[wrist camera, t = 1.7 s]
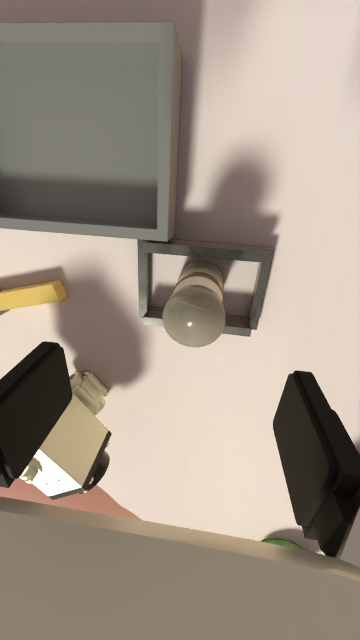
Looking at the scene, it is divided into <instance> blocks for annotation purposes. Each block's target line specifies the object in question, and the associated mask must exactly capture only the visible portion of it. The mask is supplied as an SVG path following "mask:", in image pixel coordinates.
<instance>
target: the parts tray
mask: <svg viewBox="0 0 360 640" xmlns="http://www.w3.org/2000/svg"><path fill="white" fill-rule="evenodd" d="M181 75H182V51H181V47H180V43H179V40H178V36H177V32H176V28H175V24H174V22H70V23H0V228H5V229H18V230H30V231H42V232H55V233H67V234H80V235H92V236H105V237H117V238H130V239H142V240H154V241H169V240H170V239H171V238H172V237H173V236H174V235H175V216H176V193H177V169H178V146H179V122H180V99H181Z"/></svg>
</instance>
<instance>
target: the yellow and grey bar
mask: <svg viewBox="0 0 360 640" xmlns="http://www.w3.org/2000/svg"><path fill="white" fill-rule="evenodd" d="M65 297H67V294H66V292H65V289H64V287H63V284H62V282H61V280H56V281H51V282H45V283H40V284H34V285H29V286H23V287H18V288H12V289H7V290H1V291H0V315H2V314H3V313H5V312H7V311H9V310H10V309H15V308H21V307H27V306H33V305H39V304H46V303H52V302H58V301H61V300H62V299H64V298H65Z"/></svg>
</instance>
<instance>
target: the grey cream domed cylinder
mask: <svg viewBox="0 0 360 640" xmlns="http://www.w3.org/2000/svg"><path fill="white" fill-rule="evenodd" d="M223 301H224V299H223V277H222V274H221V272H220V271H219V269H218V268H217V267H216V266H215V265H213V264H212V263H209V262H206V261H196V262H193V263H190V264H189V265H187V266H186V267H185V268H184V269H183V270H182V272H181V274H180V276H179V279H178V282H177V284H176V286H175V288H174V291H173V294H172V295H171V296H170V298H169V300H168V302H167V304H166V306H165V308H164V311H163V325H164V328H165V330H166V332H167V333H168V335H169V336H170V337H171V338H172V339H173V340H175V341H176V342H178V343H180V344H182V345H185V346H189V347H202V346H206V345H208V344H211V343H212V342H214V341H215V340H216V339H217V338H218V337H219V336H220V335H221V333H222V332H223V329H224V326H225V308H224V304H223Z"/></svg>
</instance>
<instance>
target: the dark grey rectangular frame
mask: <svg viewBox="0 0 360 640" xmlns="http://www.w3.org/2000/svg"><path fill="white" fill-rule="evenodd" d="M149 253H158V254H170V255H182V256H194V257H205V258H217V259H229V260H240V261H252V262H259V267H258V272H257V277H256V282H255V287H254V292H253V297H252V302H251V307H250V312H249V317H245V316H235V315H226V314H225V326H224V329H223V332H222V334H231V335H240V336H249V337H250V334H251V329H254V330H257V326H258V321H259V317H260V312H261V308H262V303H263V299H264V294H265V290H266V285H267V281H268V276H269V272H270V267H271V263H272V258H273V254H274V248H273V247H264V246H251V245H239V244H226V243H213V242H201V241H188V240H176V239H170V240H169V241H154V240H142V239H138V282H139V317H143V325H152V326H161V327H164V325H163V311H164V308H160V307H151V306H149Z"/></svg>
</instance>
